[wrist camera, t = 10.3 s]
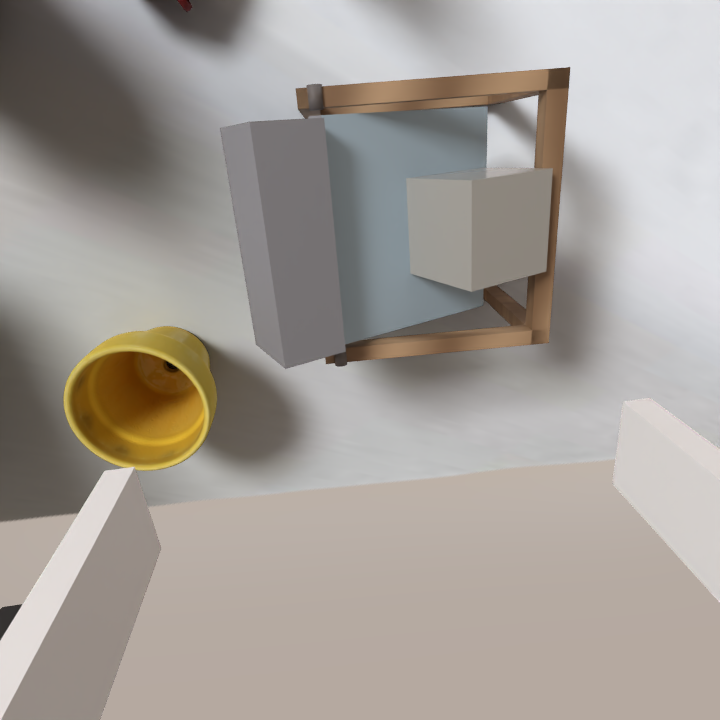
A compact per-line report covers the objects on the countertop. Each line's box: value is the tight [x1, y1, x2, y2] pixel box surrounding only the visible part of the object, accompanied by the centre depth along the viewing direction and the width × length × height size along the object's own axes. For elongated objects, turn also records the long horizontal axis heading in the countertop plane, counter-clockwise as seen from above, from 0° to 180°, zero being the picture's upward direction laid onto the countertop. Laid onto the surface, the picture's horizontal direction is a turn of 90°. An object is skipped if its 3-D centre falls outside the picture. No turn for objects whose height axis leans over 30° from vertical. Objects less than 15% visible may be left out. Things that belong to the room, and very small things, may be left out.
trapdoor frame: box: [296, 67, 570, 366], centre depth 36 cm, size 15×16×12 cm
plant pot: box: [64, 326, 217, 471], centre depth 41 cm, size 10×10×10 cm
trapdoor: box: [220, 106, 488, 369], centre depth 33 cm, size 17×13×5 cm
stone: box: [406, 168, 553, 292], centre depth 31 cm, size 6×6×6 cm
